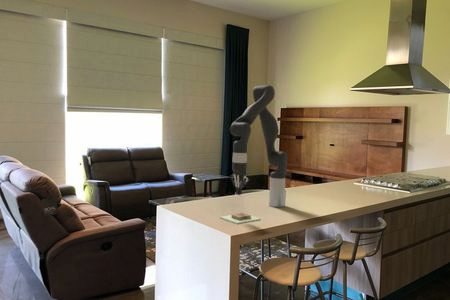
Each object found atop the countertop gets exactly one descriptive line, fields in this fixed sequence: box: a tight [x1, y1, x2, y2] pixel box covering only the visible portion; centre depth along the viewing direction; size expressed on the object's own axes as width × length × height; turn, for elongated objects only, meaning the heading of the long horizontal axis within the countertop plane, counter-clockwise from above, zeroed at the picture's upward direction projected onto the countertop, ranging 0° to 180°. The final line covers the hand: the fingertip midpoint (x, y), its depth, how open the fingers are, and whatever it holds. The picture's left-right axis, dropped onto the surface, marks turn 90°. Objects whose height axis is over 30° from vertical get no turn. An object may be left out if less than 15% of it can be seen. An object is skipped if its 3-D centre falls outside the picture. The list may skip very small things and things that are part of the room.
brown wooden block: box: [231, 212, 252, 220], centre depth 197 cm, size 8×2×6 cm
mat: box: [219, 214, 262, 225], centre depth 197 cm, size 16×14×1 cm
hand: (238, 194), depth 198 cm, fingers closed
